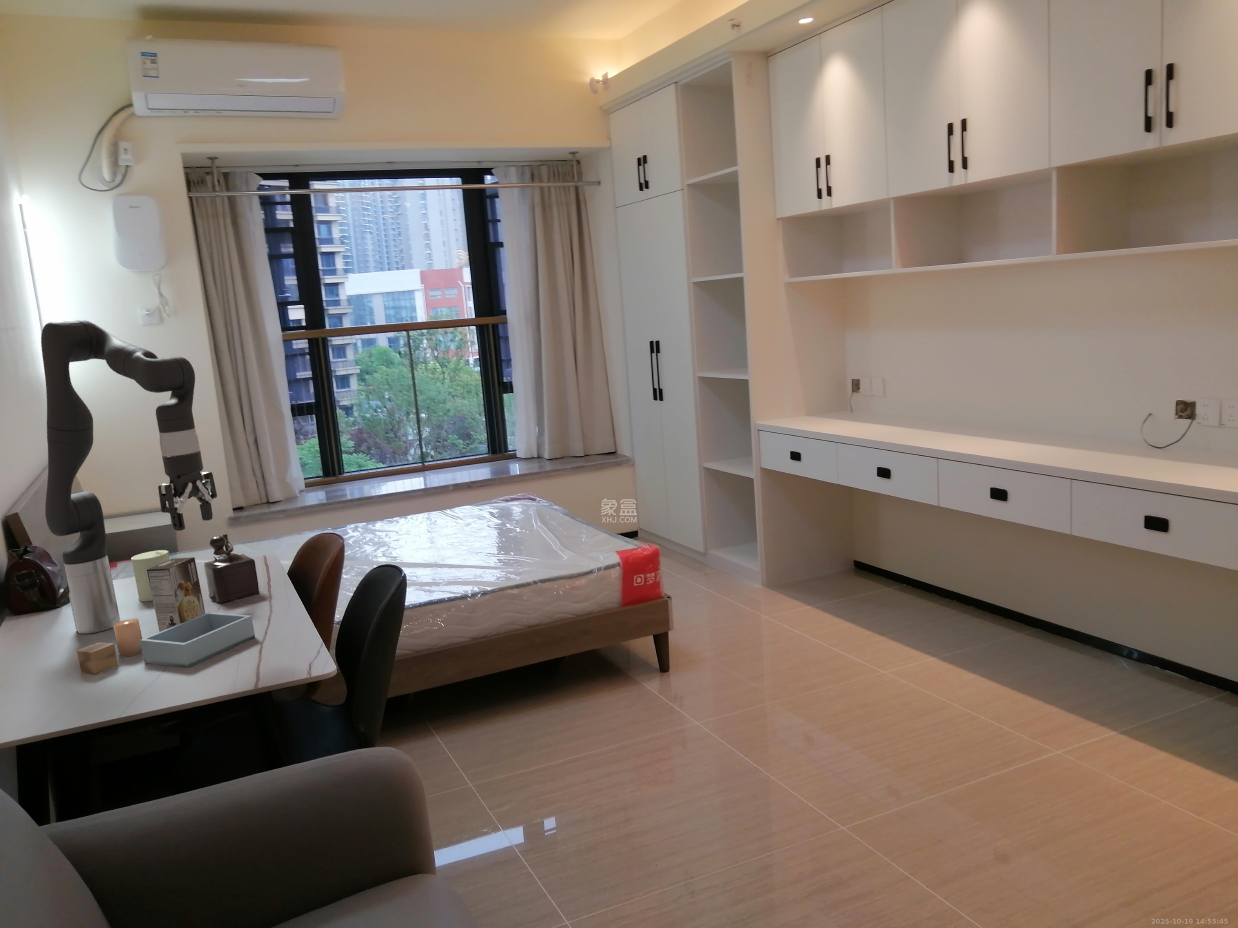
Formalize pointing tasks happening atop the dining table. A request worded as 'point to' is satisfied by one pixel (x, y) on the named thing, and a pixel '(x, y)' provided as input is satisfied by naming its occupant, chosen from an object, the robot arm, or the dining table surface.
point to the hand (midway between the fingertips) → (194, 525)
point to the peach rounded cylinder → (128, 637)
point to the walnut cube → (97, 658)
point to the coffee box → (175, 592)
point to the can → (140, 570)
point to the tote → (197, 639)
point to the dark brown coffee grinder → (230, 573)
